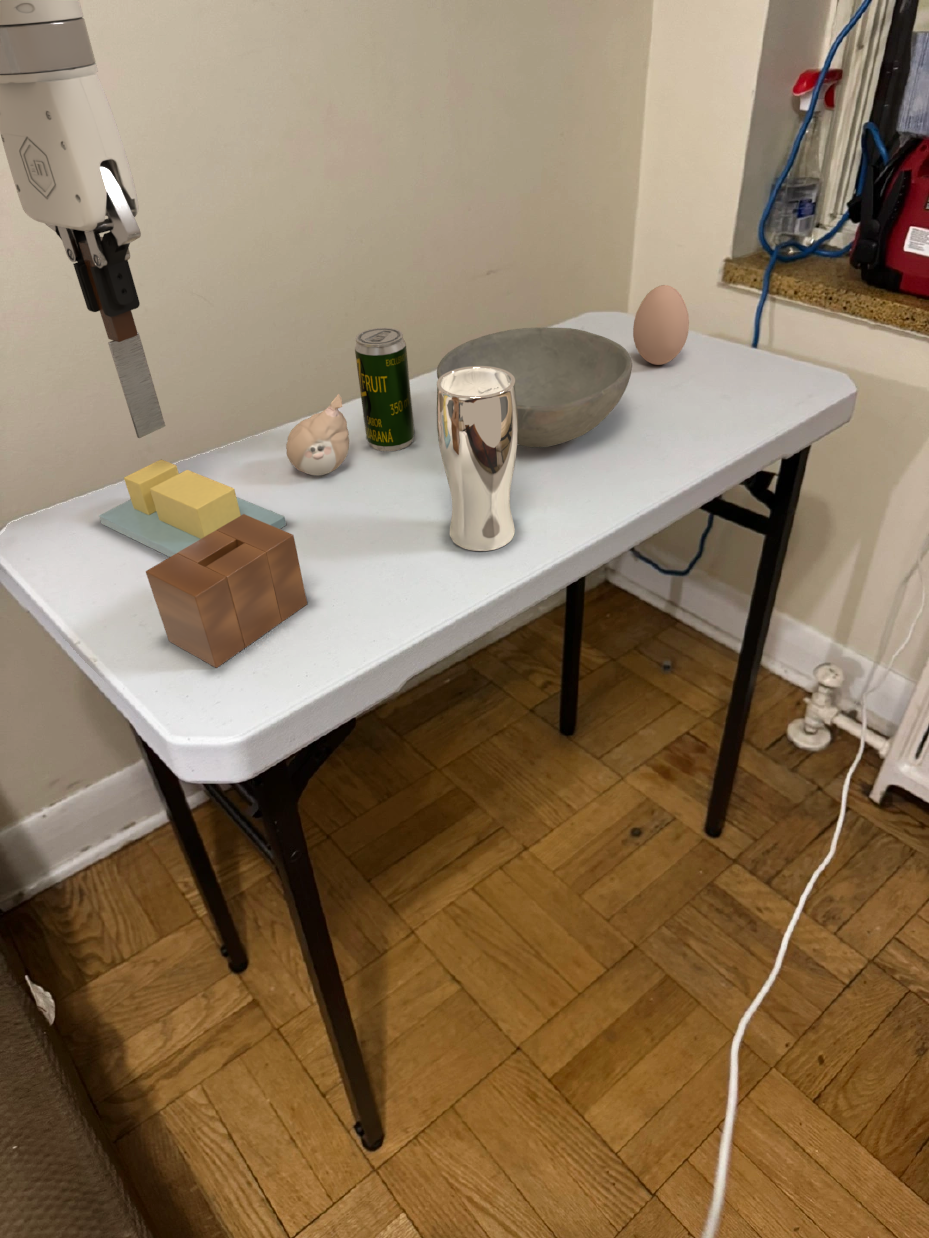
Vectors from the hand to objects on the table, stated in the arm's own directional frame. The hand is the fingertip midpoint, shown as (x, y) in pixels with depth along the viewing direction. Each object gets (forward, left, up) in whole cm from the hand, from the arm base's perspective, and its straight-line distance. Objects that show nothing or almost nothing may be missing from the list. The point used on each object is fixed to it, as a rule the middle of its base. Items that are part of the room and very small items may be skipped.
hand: (114, 308), depth 74 cm
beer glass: (+14, -28, -21) cm, 37 cm away
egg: (+59, -23, -21) cm, 66 cm away
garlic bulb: (+15, -6, -21) cm, 26 cm away
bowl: (+35, -20, -21) cm, 45 cm away
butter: (0, -4, -20) cm, 20 cm away
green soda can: (+24, -8, -21) cm, 33 cm away
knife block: (-8, -19, -21) cm, 29 cm away
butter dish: (0, -3, -21) cm, 21 cm away
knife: (0, 0, -12) cm, 12 cm away
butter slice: (0, +2, -20) cm, 20 cm away
